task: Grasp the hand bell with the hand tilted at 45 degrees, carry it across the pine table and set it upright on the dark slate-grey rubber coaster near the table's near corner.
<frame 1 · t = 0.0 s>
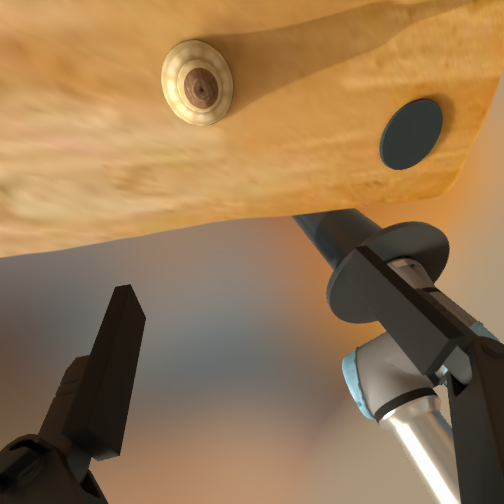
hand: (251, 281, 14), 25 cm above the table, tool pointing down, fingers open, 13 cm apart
corner coaster: (409, 136, 38), on the table
hand bell: (198, 86, 28), on the table
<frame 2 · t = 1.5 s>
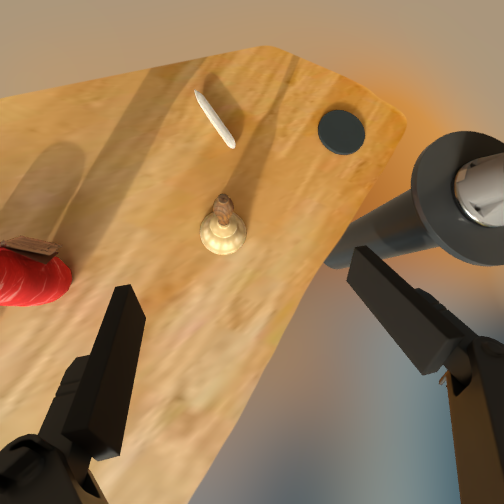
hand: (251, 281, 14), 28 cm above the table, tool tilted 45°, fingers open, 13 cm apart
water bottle: (63, 275, 39), on the table
corner coaster: (340, 133, 50), on the table
hand bell: (223, 232, 43), on the table
pen: (214, 122, 47), on the table
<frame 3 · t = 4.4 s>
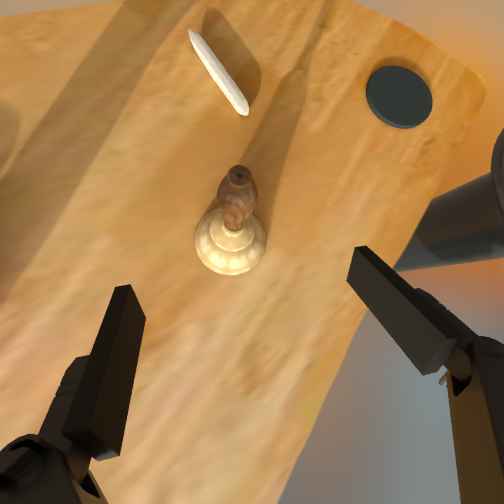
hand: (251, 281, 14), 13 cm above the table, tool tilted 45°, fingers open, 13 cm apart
corner coaster: (397, 98, 35), on the table
hand bell: (230, 240, 28), on the table
pen: (217, 79, 32), on the table
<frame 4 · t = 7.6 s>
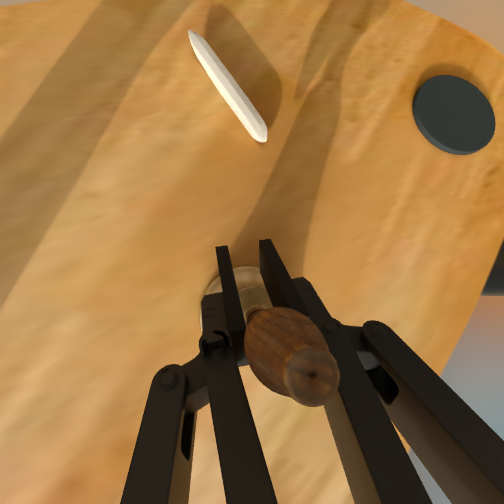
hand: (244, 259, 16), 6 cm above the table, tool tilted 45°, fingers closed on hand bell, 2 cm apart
corner coaster: (451, 116, 28), on the table
hand bell: (247, 313, 21), on the table, touching gripper
pen: (226, 94, 25), on the table
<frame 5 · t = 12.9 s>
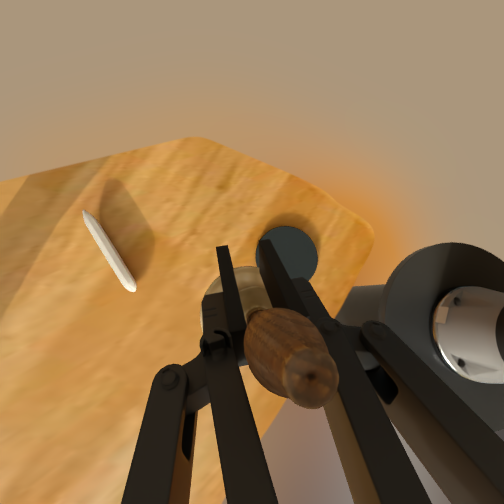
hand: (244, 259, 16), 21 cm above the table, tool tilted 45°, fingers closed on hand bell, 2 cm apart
corner coaster: (286, 257, 38), on the table
hand bell: (248, 313, 21), point 15 cm above the table, touching gripper
pen: (112, 251, 35), on the table
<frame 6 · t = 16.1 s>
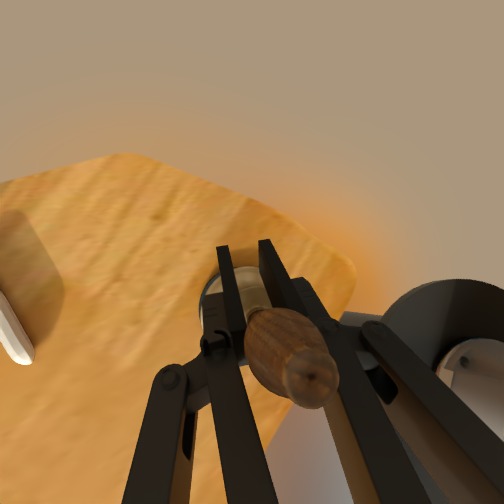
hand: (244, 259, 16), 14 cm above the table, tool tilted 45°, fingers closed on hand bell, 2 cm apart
hand bell: (248, 313, 21), point 9 cm above the table, touching gripper
pen: (6, 308, 27), on the table
when the fingers open (6 cm above the table, at t = 18.5 s): hand bell stays where it is, resting on corner coaster.
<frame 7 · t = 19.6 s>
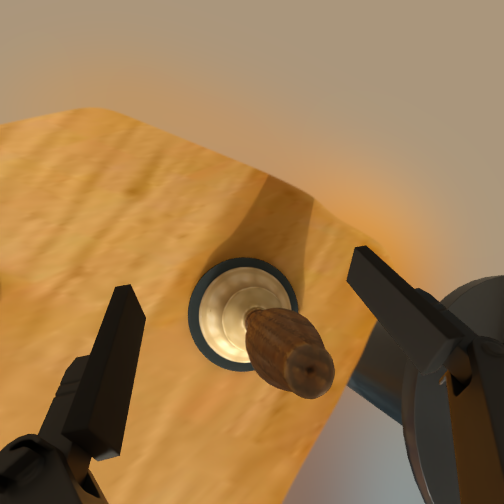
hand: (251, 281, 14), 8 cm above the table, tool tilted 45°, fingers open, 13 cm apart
corner coaster: (244, 311, 22), on the table
hand bell: (246, 312, 22), resting on corner coaster
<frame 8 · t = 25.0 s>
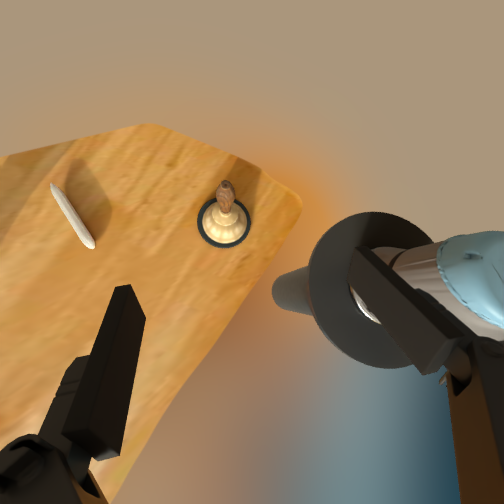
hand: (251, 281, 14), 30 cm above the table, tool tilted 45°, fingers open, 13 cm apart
corner coaster: (224, 222, 45), on the table
hand bell: (225, 222, 45), resting on corner coaster
pen: (76, 217, 42), on the table
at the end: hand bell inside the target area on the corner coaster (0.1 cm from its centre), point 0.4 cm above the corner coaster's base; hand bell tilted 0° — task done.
